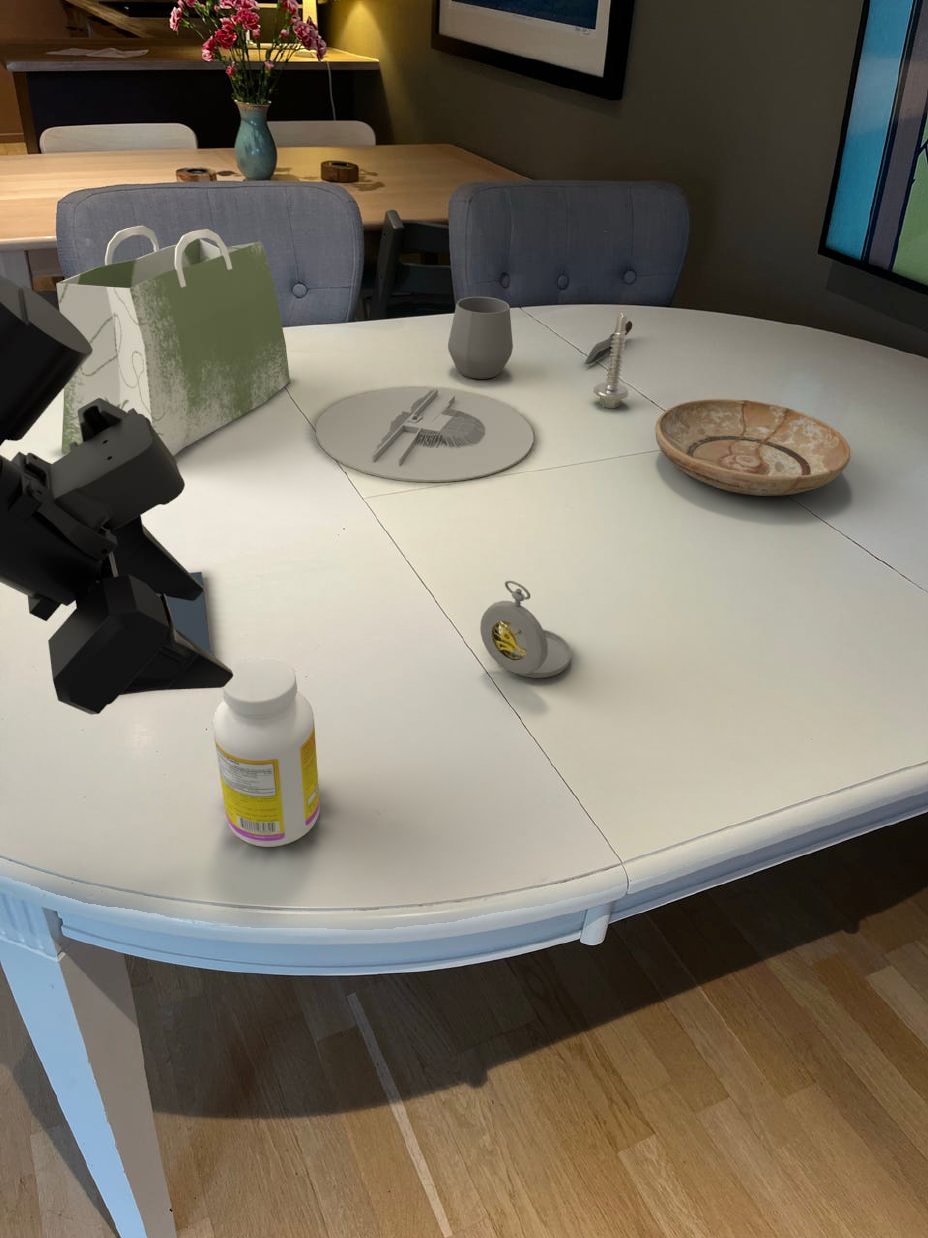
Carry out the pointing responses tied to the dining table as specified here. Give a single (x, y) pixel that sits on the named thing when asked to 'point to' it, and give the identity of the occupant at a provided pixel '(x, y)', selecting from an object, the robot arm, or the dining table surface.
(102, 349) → the grocery bag
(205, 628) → the placemat
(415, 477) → the plate
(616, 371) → the screw
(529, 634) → the pocket watch
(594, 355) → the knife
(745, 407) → the ceramic bowl
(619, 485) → the dining table surface
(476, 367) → the cup
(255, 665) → the supplement bottle
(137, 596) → the robot arm
